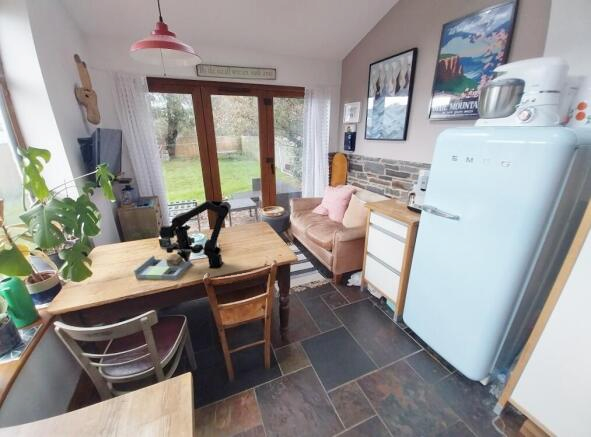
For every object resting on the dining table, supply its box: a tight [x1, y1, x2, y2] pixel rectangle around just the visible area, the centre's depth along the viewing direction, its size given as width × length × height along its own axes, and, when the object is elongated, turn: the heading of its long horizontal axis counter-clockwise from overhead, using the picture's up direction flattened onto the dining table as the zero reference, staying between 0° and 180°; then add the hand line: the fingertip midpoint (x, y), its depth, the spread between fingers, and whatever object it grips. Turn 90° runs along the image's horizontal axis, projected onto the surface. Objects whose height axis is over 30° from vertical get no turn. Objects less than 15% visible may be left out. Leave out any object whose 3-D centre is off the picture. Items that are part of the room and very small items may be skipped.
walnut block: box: [166, 253, 184, 266], centre depth 138 cm, size 6×6×4 cm
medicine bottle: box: [158, 229, 175, 249], centre depth 164 cm, size 7×7×12 cm
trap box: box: [133, 254, 192, 280], centre depth 136 cm, size 23×16×5 cm
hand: (187, 261), depth 138 cm, fingers closed
